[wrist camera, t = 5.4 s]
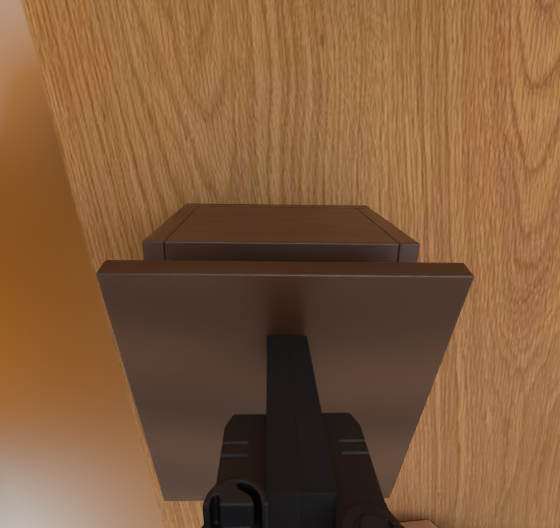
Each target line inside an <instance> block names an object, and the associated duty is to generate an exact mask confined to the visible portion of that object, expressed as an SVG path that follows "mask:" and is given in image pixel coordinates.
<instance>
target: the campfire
mask: <svg viewBox="0 0 560 528" xmlns="http://www.w3.org/2000/svg"><path fill="white" fill-rule="evenodd" d="M399 523H400V524H401V525H402V526H404V527H405V528H437V527H436V526H435V525H434V524H433V523H431V522H430V521H429V520H421V521H410V522H399Z"/></svg>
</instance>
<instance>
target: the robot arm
mask: <svg viewBox="0 0 560 528" xmlns="http://www.w3.org/2000/svg"><path fill="white" fill-rule="evenodd" d="M203 517H204V525H203V526H202V528H405V527H404V526H402V525H401V524H400V523H399V522H398V521H397V519H396V518H395V517H394V516H393V515H392V514H391V513H390V511H389V510H388V508H387V505H386V503H385V501H384V498H383V494H382V491H381V488H380V485H379V482H378V479H377V476H376V473H375V469H374V466H373V463H372V460H371V457H370V455H369V451H368V447H367V444H366V443H365V438H364V435H363V432H362V429H361V426H360V424H359V423H358V422H357V421H356V419H355V418H354V417H353V416H352V415H351V414H350V413H322V411H321V406H320V401H319V395H318V390H317V385H316V380H315V375H314V370H313V364H312V359H311V354H310V349H309V344H308V339H307V336H267V384H266V414H233V416H232V417H231V419H230V420H229V422H228V423H227V425H226V426H225V429H224V435H223V442H222V449H221V457H220V462H219V469H218V475H217V482H216V484H215V486H214V487H213V488H212V489H211V490H210V491H209V492H208V493H207V495H206V498H205V501H204V503H203Z"/></svg>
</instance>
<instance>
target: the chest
mask: <svg viewBox="0 0 560 528" xmlns="http://www.w3.org/2000/svg"><path fill="white" fill-rule="evenodd" d="M419 246H420V244H419V243H418V242H416V241H415V240H413V239H412V238H411V237H409V236H408V235H406V234H405V233H404V232H402V231H401V230H399V229H398V228H397V227H395V226H394V225H392V224H391V223H390V222H388V221H387V220H385V219H384V218H383V217H381V216H380V215H378V214H377V213H376V212H374V211H373V210H371V209H370V208H369V207H367V206H330V205H254V204H186V205H185V206H184V207H183V208H182V209H180V210H179V211H178V212H177V213H176V214H174V215H173V216H172V217H171V218H170V219H169V220H167V221H166V222H165V223H164V224H163V225H161V226H160V227H159V228H158V229H157V230H155V231H154V232H153V233H152V234H151V235H150V236H148V237H147V238H146V239H145V240H144V241H143V251H144V260H146V261H276V262H405V263H417V260H418V253H419Z"/></svg>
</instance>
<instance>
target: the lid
mask: <svg viewBox="0 0 560 528" xmlns="http://www.w3.org/2000/svg"><path fill="white" fill-rule="evenodd" d="M97 278H98V281H99V285H100V288H101V291H102V295H103V298H104V301H105V305H106V308H107V311H108V315H109V318H110V321H111V325H112V328H113V331H114V335H115V338H116V341H117V345H118V348H119V351H120V355H121V358H122V361H123V365H124V368H125V371H126V375H127V378H128V381H129V385H130V388H131V391H132V395H133V398H134V401H135V405H136V408H137V411H138V415H139V418H140V421H141V425H142V428H143V431H144V435H145V438H146V441H147V445H148V448H149V451H150V455H151V458H152V461H153V465H154V468H155V471H156V475H157V478H158V481H159V485H160V488H161V491H162V495H163V498H164V501H200V500H205V498H206V495H207V493H208V492H209V491H210V490H211V489H212V488H213V487H214V486H215V484H216V482H217V475H218V469H219V462H220V457H221V449H222V442H223V435H224V429H225V426H226V425H227V423H228V422H229V420H230V419H231V417H232V416H233V414H266V384H267V336H307V339H308V344H309V349H310V354H311V359H312V364H313V370H314V375H315V380H316V385H317V390H318V395H319V401H320V406H321V411H322V413H350V414H351V415H352V416H353V417H354V418H355V419H356V421H357V422H358V423H359V424H360V426H361V429H362V432H363V435H364V438H365V443H366V444H367V447H368V451H369V455H370V457H371V460H372V463H373V466H374V469H375V473H376V476H377V479H378V482H379V485H380V488H381V491H382V494H383V498H389V497H390V495H391V492H392V489H393V487H394V484H395V482H396V479H397V476H398V474H399V471H400V469H401V466H402V463H403V461H404V458H405V456H406V453H407V450H408V448H409V445H410V442H411V440H412V437H413V435H414V432H415V429H416V427H417V424H418V422H419V419H420V416H421V414H422V411H423V409H424V406H425V403H426V401H427V398H428V396H429V393H430V390H431V388H432V385H433V382H434V380H435V377H436V375H437V372H438V369H439V367H440V364H441V362H442V359H443V356H444V354H445V351H446V349H447V346H448V343H449V341H450V338H451V335H452V333H453V330H454V328H455V325H456V322H457V320H458V317H459V315H460V312H461V309H462V307H463V304H464V302H465V299H466V296H467V294H468V291H469V288H470V286H471V283H472V281H473V278H474V276H473V274H472V273H471V272H470V271H469V269H468V268H467V267H466V266H465V264H463V263H405V262H276V261H146V260H106V261H105V262H104V263H103V265H102V266H101V268H100V269H99V271H98V272H97Z"/></svg>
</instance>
